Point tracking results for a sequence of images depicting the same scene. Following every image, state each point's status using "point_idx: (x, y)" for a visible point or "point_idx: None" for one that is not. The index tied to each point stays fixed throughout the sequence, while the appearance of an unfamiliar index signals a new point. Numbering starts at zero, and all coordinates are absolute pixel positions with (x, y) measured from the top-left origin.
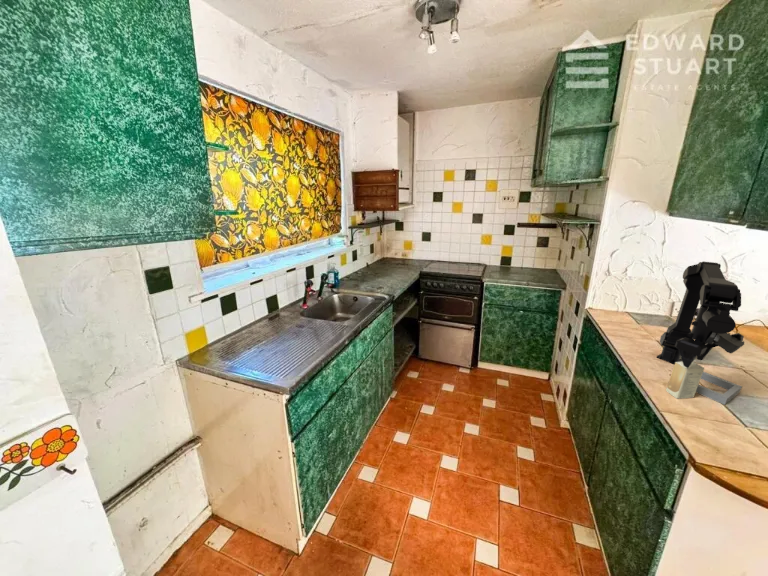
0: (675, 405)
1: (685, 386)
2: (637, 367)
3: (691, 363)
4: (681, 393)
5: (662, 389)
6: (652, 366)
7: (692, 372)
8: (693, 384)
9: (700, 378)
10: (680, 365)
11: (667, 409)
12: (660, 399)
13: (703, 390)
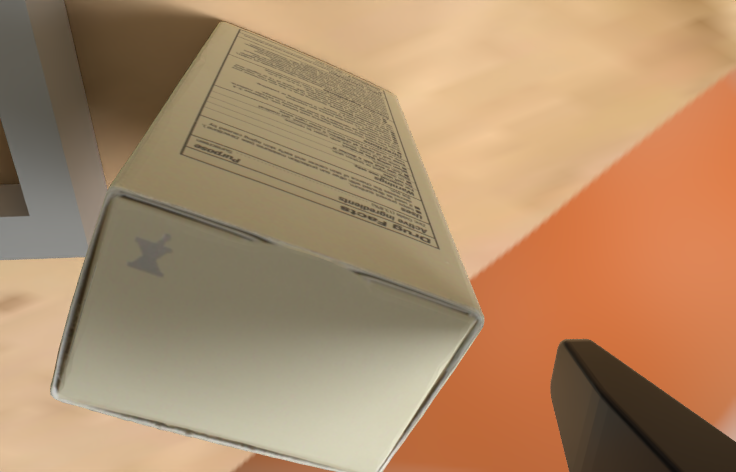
0: (537, 51)
1: (366, 129)
2: (180, 456)
3: (616, 406)
4: (378, 102)
5: None
6: (28, 420)
7: (355, 223)
8: (269, 96)
9: (176, 97)
10: (426, 407)
11: (675, 59)
12: (546, 160)
13: (38, 10)
